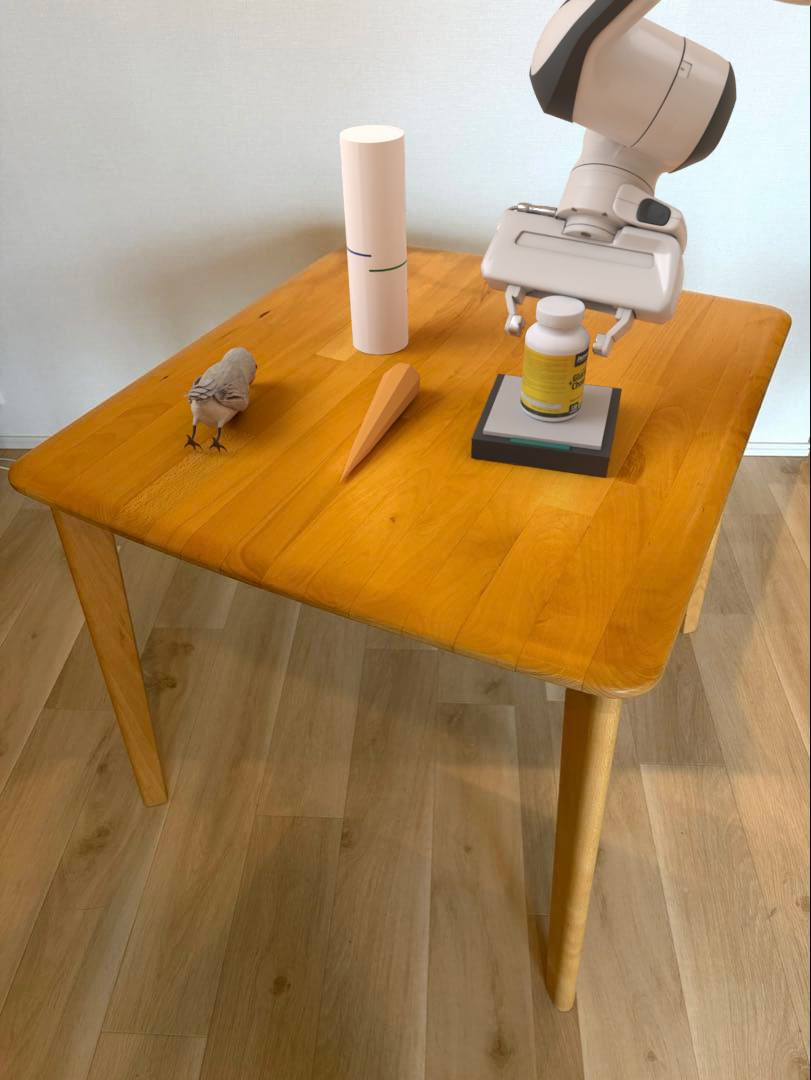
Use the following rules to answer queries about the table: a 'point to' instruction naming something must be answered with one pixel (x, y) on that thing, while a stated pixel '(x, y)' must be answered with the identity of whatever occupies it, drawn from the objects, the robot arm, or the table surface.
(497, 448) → the scale
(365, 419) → the carrot
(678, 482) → the table surface
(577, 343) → the pill bottle
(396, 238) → the cylindrical container
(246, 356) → the decorative bird
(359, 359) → the table surface
